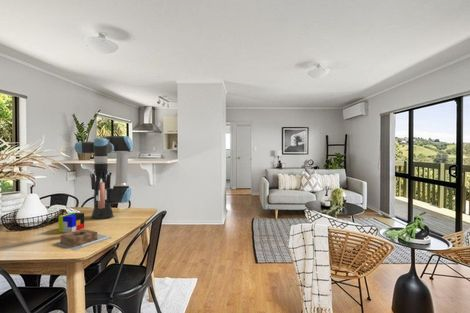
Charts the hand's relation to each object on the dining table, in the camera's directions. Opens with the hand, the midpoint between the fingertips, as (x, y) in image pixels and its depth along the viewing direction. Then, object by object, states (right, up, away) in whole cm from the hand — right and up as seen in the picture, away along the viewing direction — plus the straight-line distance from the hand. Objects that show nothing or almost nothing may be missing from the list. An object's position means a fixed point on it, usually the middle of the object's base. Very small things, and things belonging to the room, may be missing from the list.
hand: (101, 199), depth 160 cm
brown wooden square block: (-3, -21, -17) cm, 27 cm away
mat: (-1, -21, -16) cm, 27 cm away
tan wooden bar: (0, -5, 0) cm, 5 cm away
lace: (+6, -21, -18) cm, 28 cm away
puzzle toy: (-23, -21, +6) cm, 32 cm away
